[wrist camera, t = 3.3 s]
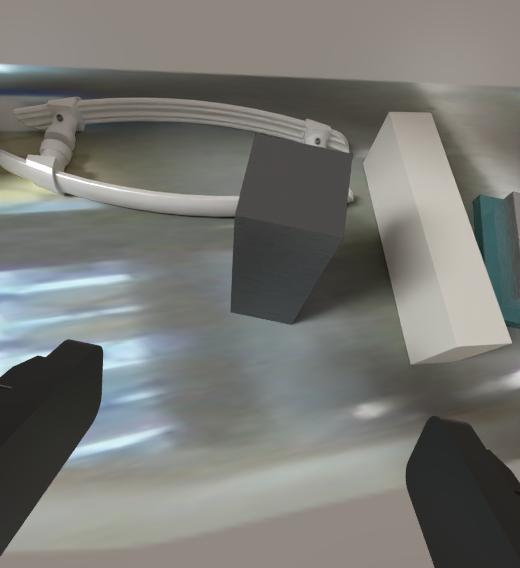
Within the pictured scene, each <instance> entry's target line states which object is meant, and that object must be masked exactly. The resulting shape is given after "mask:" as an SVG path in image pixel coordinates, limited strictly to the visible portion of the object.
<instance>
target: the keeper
mask: <svg viewBox="0 0 520 568" xmlns="http://www.w3.org/2000/svg"><path fill="white" fill-rule="evenodd" d="M473 206H474V221H475V236H476V242H477V245H478V248H479V250H480V253H481V256H482V259H483V262H484V265H485V267H486V270H487V273H488V276H489V279H490V282H491V285H492V287H493V290H494V293H495V296H496V299H497V302H498V304H499V307H500V310H501V313H502V316H503V319H504V322H505V324H506V326H510V327H515V328H520V193H518V192H512V193H511V194H509V195H508V196H507V197H506V198H505V199H503V200H502V199H498V198H493V197H488V196H483V195H479V196H478V197H477V198H476V199H475V200H474V201H473Z"/></svg>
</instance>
